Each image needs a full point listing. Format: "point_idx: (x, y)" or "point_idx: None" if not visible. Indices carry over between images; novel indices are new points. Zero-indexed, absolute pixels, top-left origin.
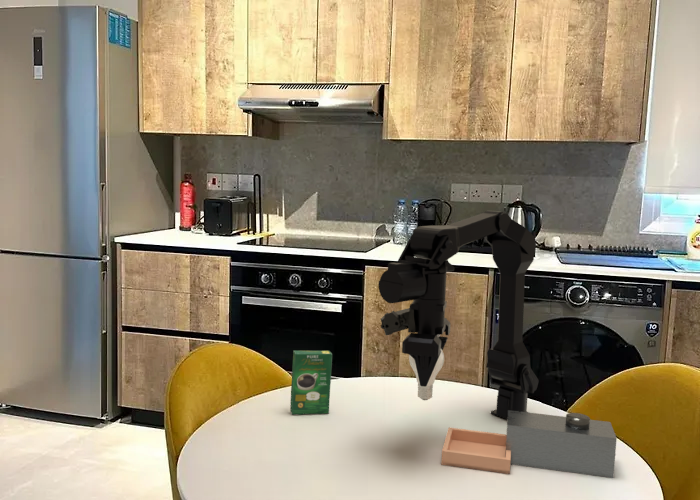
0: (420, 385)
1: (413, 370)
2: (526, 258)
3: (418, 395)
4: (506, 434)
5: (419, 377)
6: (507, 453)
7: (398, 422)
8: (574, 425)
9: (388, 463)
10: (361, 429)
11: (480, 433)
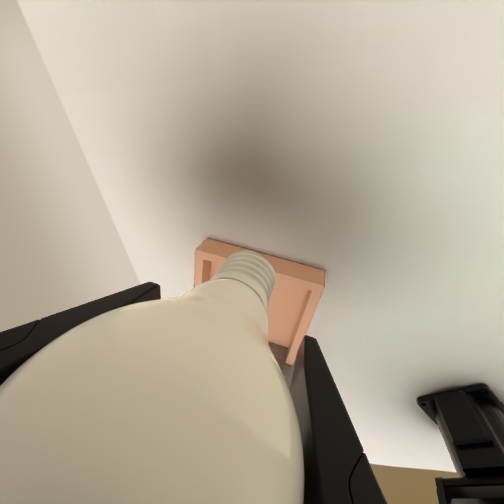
0: (150, 282)
1: (175, 297)
2: None
3: (236, 254)
4: (288, 365)
5: (105, 300)
6: None
7: (470, 161)
8: None
9: (186, 134)
10: (417, 17)
11: (296, 331)
